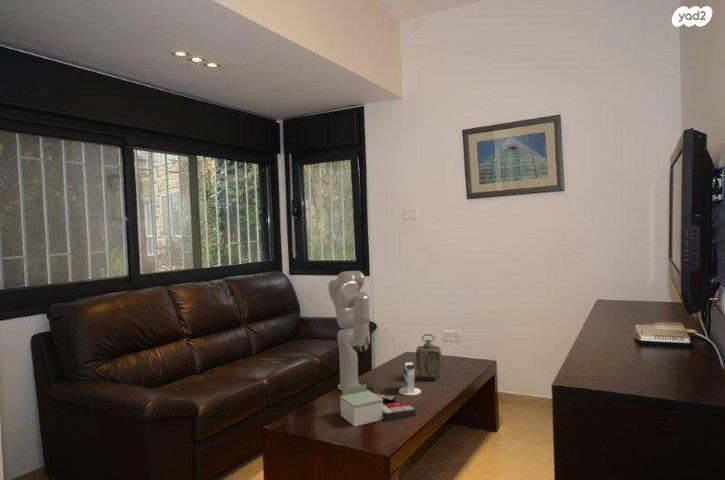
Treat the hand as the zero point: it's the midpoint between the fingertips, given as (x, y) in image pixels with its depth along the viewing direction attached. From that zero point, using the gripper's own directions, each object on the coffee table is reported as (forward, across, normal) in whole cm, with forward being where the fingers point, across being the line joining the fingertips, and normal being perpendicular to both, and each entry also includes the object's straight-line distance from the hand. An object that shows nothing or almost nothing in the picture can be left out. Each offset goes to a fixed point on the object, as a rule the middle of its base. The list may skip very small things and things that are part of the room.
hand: (362, 359), depth 228 cm
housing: (+22, +13, -7) cm, 26 cm away
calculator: (+23, +17, +8) cm, 30 cm away
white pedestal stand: (+23, -6, +30) cm, 38 cm away
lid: (+14, +13, -7) cm, 20 cm away
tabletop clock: (+24, -18, +49) cm, 58 cm away
